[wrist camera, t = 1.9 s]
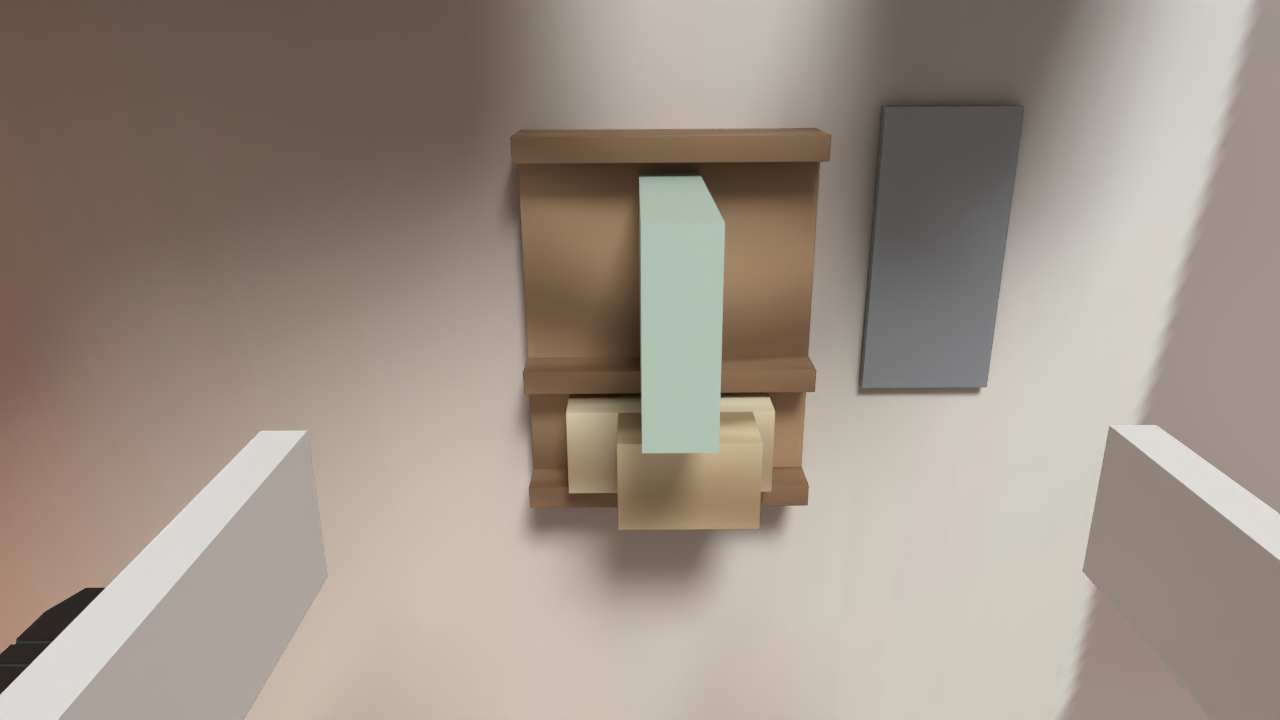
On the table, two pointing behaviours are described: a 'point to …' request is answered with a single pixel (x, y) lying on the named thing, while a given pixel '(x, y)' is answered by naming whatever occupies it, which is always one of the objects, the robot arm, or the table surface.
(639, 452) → the offcut top
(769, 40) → the table surface
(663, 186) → the sheet
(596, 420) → the block
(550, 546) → the table surface
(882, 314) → the mat
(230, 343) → the table surface
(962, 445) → the table surface
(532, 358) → the rack
